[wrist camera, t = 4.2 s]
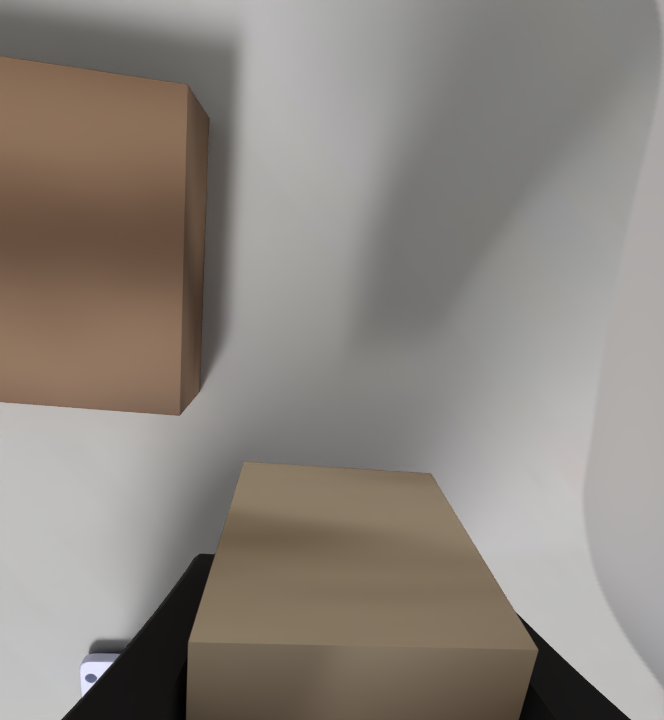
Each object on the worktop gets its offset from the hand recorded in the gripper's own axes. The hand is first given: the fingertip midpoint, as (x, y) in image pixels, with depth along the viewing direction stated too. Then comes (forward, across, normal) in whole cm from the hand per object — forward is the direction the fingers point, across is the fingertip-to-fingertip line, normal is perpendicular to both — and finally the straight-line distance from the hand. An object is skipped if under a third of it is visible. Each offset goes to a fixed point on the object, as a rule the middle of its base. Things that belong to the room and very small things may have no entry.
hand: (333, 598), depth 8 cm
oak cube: (+2, 0, 0) cm, 2 cm away
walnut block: (+9, +10, -6) cm, 15 cm away
